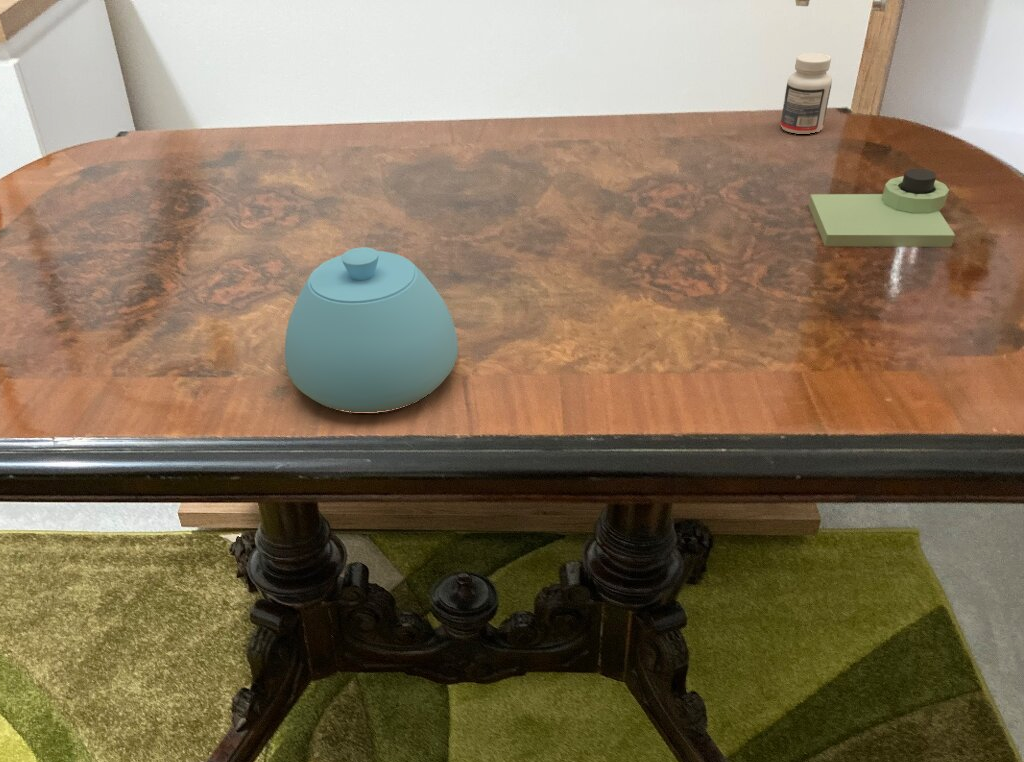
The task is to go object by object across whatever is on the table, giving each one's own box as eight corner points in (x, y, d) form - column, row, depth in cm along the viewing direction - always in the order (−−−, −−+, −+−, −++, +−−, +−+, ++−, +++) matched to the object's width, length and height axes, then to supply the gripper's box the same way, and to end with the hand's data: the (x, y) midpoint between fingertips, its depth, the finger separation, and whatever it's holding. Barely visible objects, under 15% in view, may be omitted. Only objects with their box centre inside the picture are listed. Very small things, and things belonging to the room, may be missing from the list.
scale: (931, 202, 100) (939, 175, 98) (961, 248, 91) (970, 219, 90) (806, 202, 102) (811, 176, 100) (824, 247, 94) (830, 219, 92)
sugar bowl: (270, 421, 77) (243, 299, 69) (311, 327, 88) (292, 214, 81) (448, 426, 74) (440, 300, 67) (467, 329, 86) (462, 213, 79)
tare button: (927, 184, 97) (932, 168, 96) (935, 195, 95) (940, 179, 94) (897, 184, 98) (901, 168, 97) (904, 196, 96) (908, 179, 94)
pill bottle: (794, 118, 122) (807, 48, 117) (830, 127, 119) (845, 55, 113) (771, 129, 120) (783, 58, 114) (807, 139, 116) (821, 66, 111)
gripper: (789, -114, 119) (754, -14, 119) (964, -112, 110) (926, -4, 110) (792, -81, 125) (759, 14, 125) (959, -77, 116) (923, 26, 116)
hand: (839, 6), depth 117 cm, fingers open, 8 cm apart
